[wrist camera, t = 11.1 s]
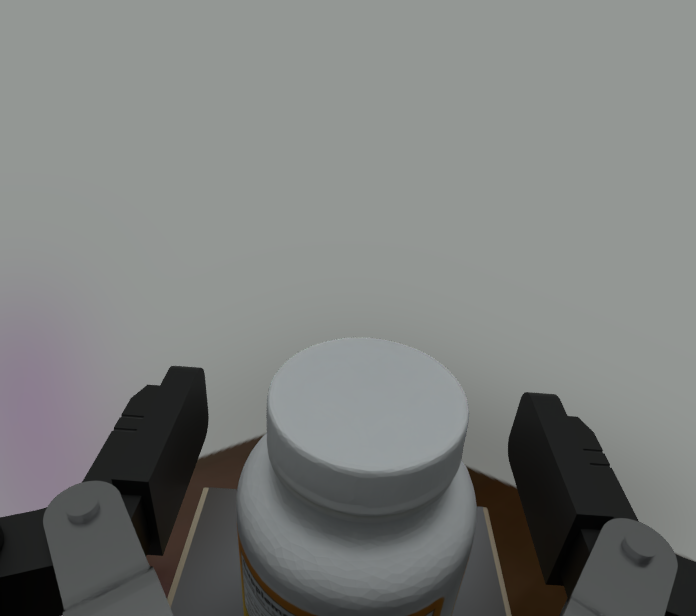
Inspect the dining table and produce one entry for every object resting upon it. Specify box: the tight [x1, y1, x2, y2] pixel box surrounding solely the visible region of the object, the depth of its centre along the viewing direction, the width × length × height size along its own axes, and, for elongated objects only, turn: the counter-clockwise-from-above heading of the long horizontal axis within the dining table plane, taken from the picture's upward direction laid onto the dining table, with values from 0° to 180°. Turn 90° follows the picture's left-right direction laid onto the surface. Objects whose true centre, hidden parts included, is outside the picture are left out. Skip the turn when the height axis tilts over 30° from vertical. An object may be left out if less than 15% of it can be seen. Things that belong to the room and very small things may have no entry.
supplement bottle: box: [236, 337, 477, 616], centre depth 13 cm, size 5×5×10 cm
